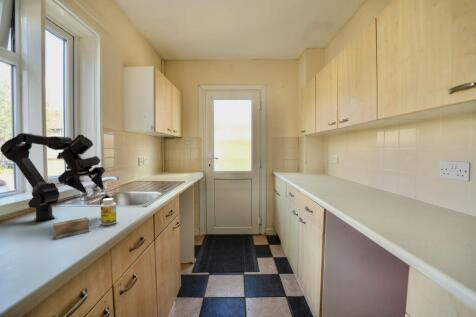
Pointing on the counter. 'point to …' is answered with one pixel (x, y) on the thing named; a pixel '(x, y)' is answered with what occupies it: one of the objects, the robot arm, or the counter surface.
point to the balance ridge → (71, 227)
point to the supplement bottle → (108, 211)
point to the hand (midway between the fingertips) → (94, 190)
